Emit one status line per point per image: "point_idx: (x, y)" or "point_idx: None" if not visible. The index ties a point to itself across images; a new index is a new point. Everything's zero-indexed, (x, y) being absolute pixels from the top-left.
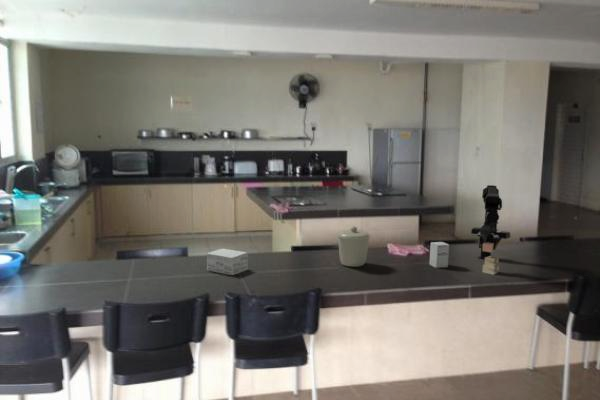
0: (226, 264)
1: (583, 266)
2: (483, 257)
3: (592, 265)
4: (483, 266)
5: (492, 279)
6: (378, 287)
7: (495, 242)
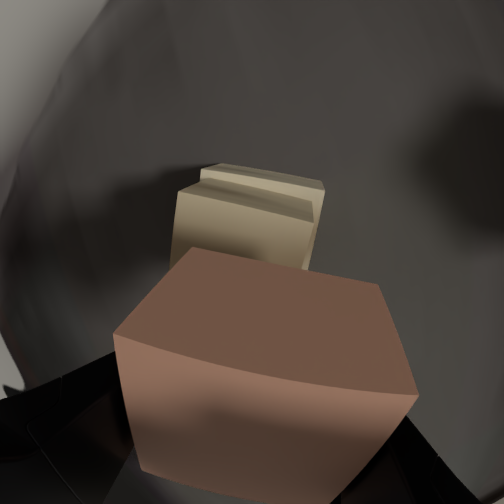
0: None
1: None
2: None
3: None
4: (316, 186)
5: (193, 27)
6: None
7: (38, 408)
